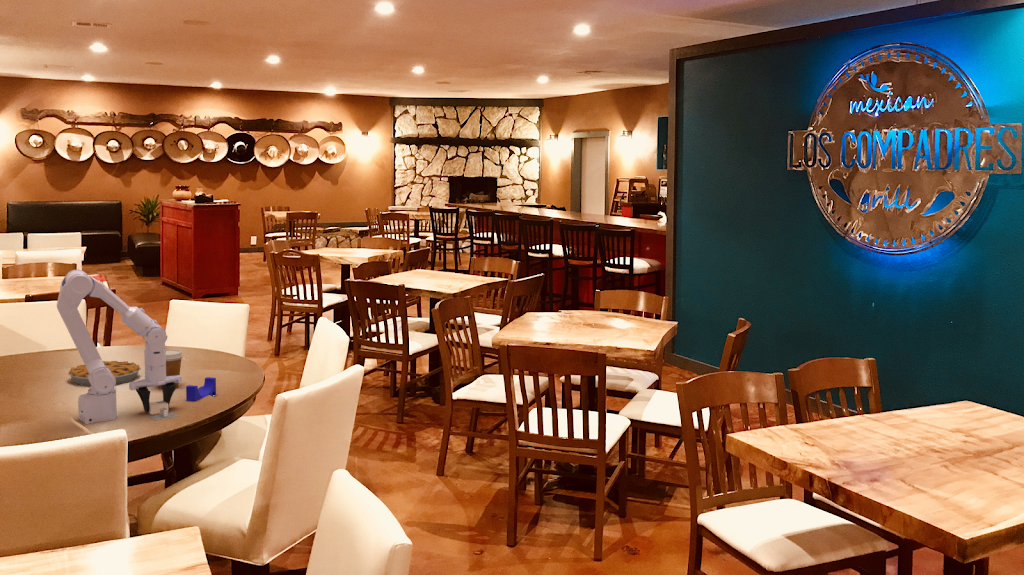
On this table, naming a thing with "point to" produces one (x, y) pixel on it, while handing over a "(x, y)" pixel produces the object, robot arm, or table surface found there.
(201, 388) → the blue u-shaped cradle
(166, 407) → the small white box
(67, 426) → the table surface
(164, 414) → the shaft
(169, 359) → the disposable coffee cup
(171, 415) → the base plate
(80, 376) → the pie
